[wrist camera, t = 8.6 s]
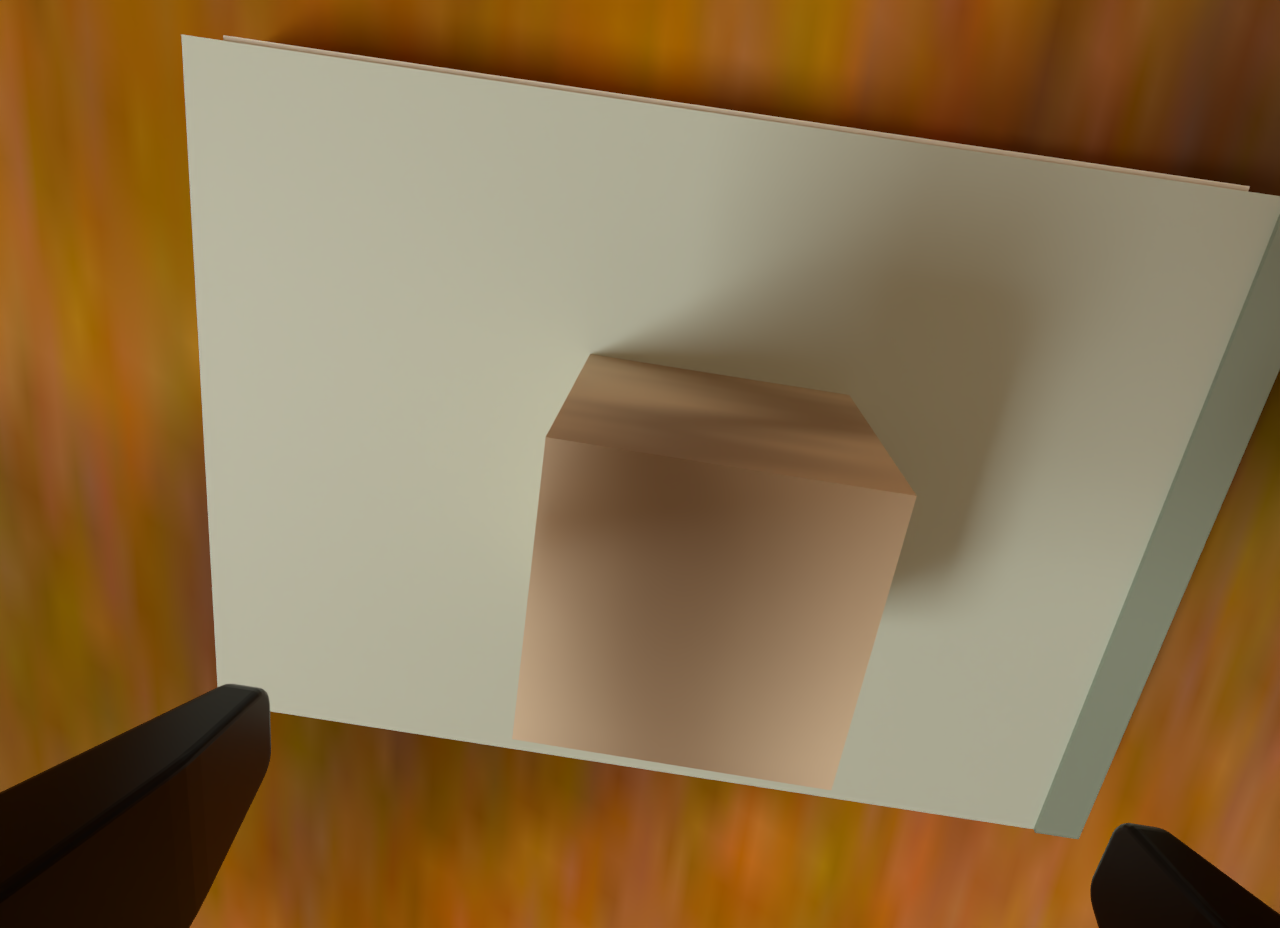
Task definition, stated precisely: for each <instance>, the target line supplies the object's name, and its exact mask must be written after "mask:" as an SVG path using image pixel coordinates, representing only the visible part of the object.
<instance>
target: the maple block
mask: <svg viewBox="0 0 1280 928" xmlns="http://www.w3.org/2000/svg"><path fill="white" fill-rule="evenodd" d="M916 497H917V495H916V494H915V492H914V491H913V489H912V488H911V486H910V485H909V483H908V482H907V480H906V479H905V477H904V476H903V474H902V473H901V472H900V470H899V469H898V467H897V466H896V464H895V463H894V461H893V460H892V458H891V457H890V455H889V454H888V452H887V451H886V449H885V448H884V446H883V445H882V443H881V442H880V440H879V439H878V437H877V436H876V434H875V433H874V431H873V430H872V428H871V427H870V425H869V424H868V422H867V421H866V419H865V418H864V416H863V415H862V413H861V412H860V410H859V409H858V407H857V406H856V404H855V403H854V401H853V400H852V398H851V397H850V395H846V394H840V393H833V392H827V391H821V390H814V389H808V388H802V387H795V386H789V385H783V384H776V383H770V382H764V381H757V380H751V379H745V378H738V377H732V376H726V375H719V374H713V373H707V372H700V371H694V370H688V369H681V368H675V367H669V366H662V365H656V364H650V363H643V362H637V361H631V360H624V359H618V358H612V357H605V356H599V355H593V354H590V355H589V357H588V359H587V361H586V362H585V364H584V366H583V368H582V370H581V372H580V374H579V376H578V377H577V379H576V381H575V383H574V385H573V387H572V389H571V391H570V392H569V394H568V396H567V398H566V400H565V402H564V404H563V405H562V407H561V409H560V411H559V413H558V415H557V417H556V419H555V420H554V422H553V424H552V426H551V428H550V430H549V432H548V434H547V435H546V438H545V447H544V456H543V465H542V474H541V483H540V492H539V501H538V510H537V519H536V528H535V537H534V546H533V555H532V564H531V573H530V582H529V591H528V600H527V609H526V619H525V628H524V637H523V646H522V655H521V664H520V673H519V682H518V691H517V700H516V709H515V718H514V727H513V736H512V739H514V740H521V741H527V742H533V743H539V744H545V745H552V746H558V747H564V748H570V749H576V750H583V751H589V752H595V753H601V754H607V755H614V756H620V757H626V758H632V759H639V760H645V761H651V762H657V763H663V764H670V765H676V766H682V767H688V768H694V769H701V770H707V771H713V772H719V773H726V774H732V775H738V776H744V777H750V778H757V779H763V780H769V781H775V782H781V783H788V784H794V785H800V786H806V787H813V788H819V789H825V790H832V786H833V783H834V780H835V776H836V773H837V769H838V766H839V762H840V759H841V755H842V752H843V749H844V745H845V742H846V738H847V735H848V731H849V728H850V724H851V721H852V718H853V714H854V711H855V707H856V704H857V700H858V697H859V693H860V690H861V687H862V683H863V680H864V676H865V673H866V669H867V666H868V662H869V659H870V656H871V652H872V649H873V645H874V642H875V638H876V635H877V632H878V628H879V625H880V621H881V618H882V614H883V611H884V607H885V604H886V601H887V597H888V594H889V590H890V587H891V583H892V580H893V576H894V573H895V570H896V566H897V563H898V559H899V556H900V552H901V549H902V545H903V542H904V539H905V535H906V532H907V528H908V525H909V521H910V518H911V514H912V511H913V508H914V504H915V501H916Z"/></svg>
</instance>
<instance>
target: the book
mask: <svg viewBox="0 0 1280 928" xmlns="http://www.w3.org/2000/svg"><path fill="white" fill-rule="evenodd" d="M223 39H224V41H222V40H215V39H208V38H201V37H195V36H188V35H182V53H183V71H184V89H185V107H186V125H187V143H188V161H189V179H190V197H191V215H192V234H193V252H194V270H195V288H196V306H197V324H198V342H199V360H200V378H201V396H202V414H203V432H204V450H205V468H206V486H207V504H208V522H209V540H210V558H211V576H212V594H213V612H214V630H215V648H216V666H217V684H218V687H220V686H222V685H225V684H239V685H245V686H252V687H258V688H262V689H263V690H265V691H266V692H267V694H268V696H269V701H270V711H272V712H278V713H285V714H291V715H298V716H304V717H311V718H317V719H324V720H330V721H337V722H343V723H349V724H356V725H362V726H369V727H375V728H382V729H388V730H395V731H401V732H408V733H414V734H421V735H427V736H434V737H440V738H447V739H453V740H459V741H466V742H472V743H479V744H485V745H492V746H498V747H505V748H511V749H518V750H524V751H531V752H537V753H544V754H550V755H557V756H563V757H569V758H576V759H582V760H589V761H595V762H602V763H608V764H615V765H621V766H628V767H634V768H641V769H647V770H654V771H660V772H667V773H673V774H679V775H686V776H692V777H699V778H705V779H712V780H718V781H725V782H731V783H738V784H744V785H751V786H757V787H764V788H770V789H777V790H783V791H789V792H796V793H802V794H809V795H815V796H822V797H828V798H835V799H841V800H848V801H854V802H861V803H867V804H874V805H880V806H887V807H893V808H899V809H906V810H912V811H919V812H925V813H932V814H938V815H945V816H951V817H958V818H964V819H971V820H977V821H984V822H990V823H997V824H1003V825H1009V826H1016V827H1022V828H1029V829H1034V831H1035V833H1041V834H1048V835H1054V836H1061V837H1067V838H1074V839H1079V837H1080V835H1081V832H1082V830H1083V828H1084V825H1085V823H1086V821H1087V818H1088V816H1089V814H1090V811H1091V809H1092V807H1093V804H1094V802H1095V800H1096V797H1097V795H1098V793H1099V790H1100V788H1101V786H1102V783H1103V781H1104V779H1105V776H1106V774H1107V772H1108V769H1109V767H1110V764H1111V762H1112V760H1113V757H1114V755H1115V753H1116V750H1117V748H1118V746H1119V743H1120V741H1121V739H1122V736H1123V734H1124V732H1125V729H1126V727H1127V725H1128V722H1129V720H1130V718H1131V715H1132V713H1133V711H1134V708H1135V706H1136V704H1137V701H1138V699H1139V697H1140V694H1141V692H1142V690H1143V687H1144V685H1145V683H1146V680H1147V678H1148V676H1149V673H1150V671H1151V669H1152V666H1153V664H1154V662H1155V659H1156V657H1157V655H1158V652H1159V650H1160V648H1161V645H1162V643H1163V641H1164V638H1165V636H1166V634H1167V631H1168V629H1169V627H1170V624H1171V622H1172V620H1173V617H1174V615H1175V613H1176V610H1177V608H1178V606H1179V603H1180V601H1181V599H1182V596H1183V594H1184V592H1185V589H1186V587H1187V585H1188V582H1189V580H1190V578H1191V575H1192V573H1193V571H1194V568H1195V566H1196V564H1197V561H1198V559H1199V557H1200V554H1201V552H1202V550H1203V547H1204V545H1205V543H1206V540H1207V538H1208V536H1209V533H1210V531H1211V529H1212V526H1213V524H1214V522H1215V519H1216V517H1217V514H1218V512H1219V510H1220V507H1221V505H1222V503H1223V500H1224V498H1225V496H1226V493H1227V491H1228V489H1229V486H1230V484H1231V482H1232V479H1233V477H1234V475H1235V472H1236V470H1237V468H1238V465H1239V463H1240V461H1241V458H1242V456H1243V454H1244V451H1245V449H1246V447H1247V444H1248V442H1249V440H1250V437H1251V435H1252V433H1253V430H1254V428H1255V426H1256V423H1257V421H1258V419H1259V416H1260V414H1261V412H1262V409H1263V407H1264V405H1265V402H1266V400H1267V398H1268V395H1269V393H1270V391H1271V388H1272V386H1273V384H1274V381H1275V379H1276V377H1277V374H1278V372H1279V370H1280V196H1275V195H1268V194H1261V193H1254V192H1248V191H1249V188H1250V186H1244V185H1237V184H1231V183H1224V182H1217V181H1210V180H1203V179H1197V178H1190V177H1183V176H1176V175H1169V174H1163V173H1156V172H1149V171H1142V170H1136V169H1129V168H1122V167H1115V166H1108V165H1102V164H1095V163H1088V162H1081V161H1074V160H1068V159H1061V158H1054V157H1047V156H1040V155H1034V154H1027V153H1020V152H1013V151H1006V150H1000V149H993V148H986V147H979V146H972V145H966V144H959V143H952V142H945V141H938V140H932V139H925V138H918V137H911V136H904V135H898V134H891V133H884V132H877V131H871V130H864V129H857V128H850V127H843V126H837V125H830V124H823V123H816V122H809V121H803V120H796V119H789V118H782V117H775V116H769V115H762V114H755V113H748V112H741V111H735V110H728V109H721V108H714V107H707V106H701V105H694V104H687V103H680V102H673V101H667V100H660V99H653V98H646V97H639V96H633V95H626V94H619V93H612V92H605V91H599V90H592V89H585V88H578V87H572V86H565V85H558V84H551V83H544V82H538V81H531V80H524V79H517V78H510V77H504V76H497V75H490V74H483V73H476V72H470V71H463V70H456V69H449V68H442V67H436V66H429V65H422V64H415V63H408V62H402V61H395V60H388V59H381V58H374V57H368V56H361V55H354V54H347V53H340V52H334V51H327V50H320V49H313V48H306V47H300V46H293V45H286V44H279V43H273V42H266V41H259V40H252V39H245V38H239V37H232V36H225V35H223ZM590 354H593V355H599V356H605V357H612V358H618V359H624V360H631V361H637V362H643V363H650V364H656V365H662V366H669V367H675V368H681V369H688V370H694V371H700V372H707V373H713V374H719V375H726V376H732V377H738V378H745V379H751V380H757V381H764V382H770V383H776V384H783V385H789V386H795V387H802V388H808V389H814V390H821V391H827V392H833V393H840V394H846V395H850V397H851V398H852V400H853V401H854V403H855V404H856V406H857V407H858V409H859V410H860V412H861V413H862V415H863V416H864V418H865V419H866V421H867V422H868V424H869V425H870V427H871V428H872V430H873V431H874V433H875V434H876V436H877V437H878V439H879V440H880V442H881V443H882V445H883V446H884V448H885V449H886V451H887V452H888V454H889V455H890V457H891V458H892V460H893V461H894V463H895V464H896V466H897V467H898V469H899V470H900V472H901V473H902V474H903V476H904V477H905V479H906V480H907V482H908V483H909V485H910V486H911V488H912V489H913V491H914V492H915V494H916V495H917V497H916V501H915V504H914V508H913V511H912V514H911V518H910V521H909V525H908V528H907V532H906V535H905V539H904V542H903V545H902V549H901V552H900V556H899V559H898V563H897V566H896V570H895V573H894V576H893V580H892V583H891V587H890V590H889V594H888V597H887V601H886V604H885V607H884V611H883V614H882V618H881V621H880V625H879V628H878V632H877V635H876V638H875V642H874V645H873V649H872V652H871V656H870V659H869V662H868V666H867V669H866V673H865V676H864V680H863V683H862V687H861V690H860V693H859V697H858V700H857V704H856V707H855V711H854V714H853V718H852V721H851V724H850V728H849V731H848V735H847V738H846V742H845V745H844V749H843V752H842V755H841V759H840V762H839V766H838V769H837V773H836V776H835V780H834V783H833V786H832V790H825V789H819V788H813V787H806V786H800V785H794V784H788V783H781V782H775V781H769V780H763V779H757V778H750V777H744V776H738V775H732V774H726V773H719V772H713V771H707V770H701V769H694V768H688V767H682V766H676V765H670V764H663V763H657V762H651V761H645V760H639V759H632V758H626V757H620V756H614V755H607V754H601V753H595V752H589V751H583V750H576V749H570V748H564V747H558V746H552V745H545V744H539V743H533V742H527V741H521V740H514V739H512V736H513V727H514V718H515V709H516V700H517V691H518V682H519V673H520V664H521V655H522V646H523V637H524V628H525V619H526V609H527V600H528V591H529V582H530V573H531V564H532V555H533V546H534V537H535V528H536V519H537V510H538V501H539V492H540V483H541V474H542V465H543V456H544V447H545V438H546V435H547V434H548V432H549V430H550V428H551V426H552V424H553V422H554V420H555V419H556V417H557V415H558V413H559V411H560V409H561V407H562V405H563V404H564V402H565V400H566V398H567V396H568V394H569V392H570V391H571V389H572V387H573V385H574V383H575V381H576V379H577V377H578V376H579V374H580V372H581V370H582V368H583V366H584V364H585V362H586V361H587V359H588V357H589V355H590Z"/></svg>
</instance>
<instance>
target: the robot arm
mask: <svg viewBox="0 0 1280 928" xmlns="http://www.w3.org/2000/svg"><path fill="white" fill-rule="evenodd" d="M270 755H271V733H270V701H269V696H268V694H267V692H266V691H265V690H263V689H262V688H258V687H252V686H245V685H239V684H225V685H222V686H220V687H217V688H215V689H213V690H211V691H209V692H207V693H205V694H203V695H201V696H199V697H197V698H195V699H193V700H191V701H188V702H186V703H184V704H182V705H180V706H178V707H176V708H174V709H172V710H170V711H168V712H166V713H164V714H162V715H160V716H157V717H155V718H153V719H151V720H149V721H147V722H145V723H143V724H141V725H139V726H137V727H135V728H133V729H131V730H129V731H126V732H124V733H122V734H120V735H118V736H116V737H114V738H112V739H110V740H108V741H106V742H104V743H102V744H100V745H98V746H95V747H93V748H91V749H89V750H87V751H85V752H83V753H81V754H79V755H77V756H75V757H73V758H71V759H69V760H67V761H64V762H62V763H60V764H58V765H56V766H54V767H52V768H50V769H48V770H46V771H44V772H42V773H40V774H38V775H36V776H33V777H31V778H29V779H27V780H25V781H23V782H21V783H19V784H17V785H15V786H13V787H11V788H9V789H7V790H5V791H2V792H0V928H189V927H190V926H191V924H192V922H193V920H194V919H195V917H196V915H197V913H198V911H199V909H200V908H201V906H202V904H203V902H204V900H205V898H206V896H207V894H208V892H209V890H210V888H211V886H212V884H213V882H214V880H215V878H216V875H217V873H218V871H219V869H220V867H221V865H222V863H223V861H224V859H225V857H226V855H227V853H228V851H229V849H230V847H231V844H232V842H233V840H234V838H235V836H236V834H237V832H238V830H239V828H240V826H241V824H242V822H243V820H244V818H245V816H246V813H247V811H248V809H249V807H250V805H251V803H252V801H253V799H254V797H255V795H256V793H257V791H258V789H259V787H260V785H261V783H262V780H263V778H264V776H265V774H266V771H267V768H268V765H269V761H270ZM1091 902H1092V907H1093V910H1094V914H1095V917H1096V920H1097V923H1098V927H1099V928H1280V914H1278V913H1277V912H1276V911H1274V910H1273V909H1272V908H1270V907H1269V906H1267V905H1266V904H1265V903H1263V902H1262V901H1261V900H1259V899H1258V898H1257V897H1255V896H1254V895H1253V894H1251V893H1250V892H1249V891H1247V890H1246V889H1245V888H1243V887H1242V886H1241V885H1239V884H1238V883H1237V882H1235V881H1234V880H1232V879H1231V878H1230V877H1228V876H1227V875H1226V874H1224V873H1223V872H1222V871H1220V870H1219V869H1218V868H1216V867H1215V866H1214V865H1212V864H1211V863H1210V862H1208V861H1207V860H1206V859H1204V858H1203V857H1201V856H1200V855H1199V854H1197V853H1196V852H1195V851H1193V850H1192V849H1191V848H1189V847H1188V846H1187V845H1185V844H1184V843H1183V842H1181V841H1180V840H1179V839H1177V838H1176V837H1175V836H1173V835H1172V834H1170V833H1169V832H1167V831H1166V830H1163V829H1161V828H1157V827H1151V826H1144V825H1138V824H1132V823H1126V824H1121V825H1120V826H1118V827H1117V828H1116V829H1115V831H1114V832H1113V834H1112V836H1111V838H1110V841H1109V843H1108V845H1107V847H1106V849H1105V852H1104V854H1103V856H1102V858H1101V860H1100V863H1099V865H1098V867H1097V869H1096V871H1095V874H1094V876H1093V879H1092V883H1091Z"/></svg>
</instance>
